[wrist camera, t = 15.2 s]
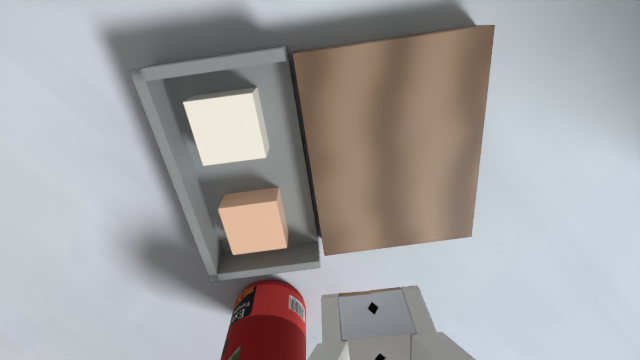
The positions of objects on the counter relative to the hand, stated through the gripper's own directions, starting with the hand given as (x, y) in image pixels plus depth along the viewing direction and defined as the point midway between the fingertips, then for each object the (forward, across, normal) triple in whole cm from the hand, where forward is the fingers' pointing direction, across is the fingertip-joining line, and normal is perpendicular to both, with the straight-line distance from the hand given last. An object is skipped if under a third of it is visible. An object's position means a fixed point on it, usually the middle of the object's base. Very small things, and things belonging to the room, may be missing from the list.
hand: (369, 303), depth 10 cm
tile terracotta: (+18, +8, +7) cm, 21 cm away
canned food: (+18, +9, +20) cm, 29 cm away
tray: (+18, +8, +3) cm, 20 cm away
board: (+19, -4, +3) cm, 19 cm away
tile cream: (+18, +8, -2) cm, 20 cm away
